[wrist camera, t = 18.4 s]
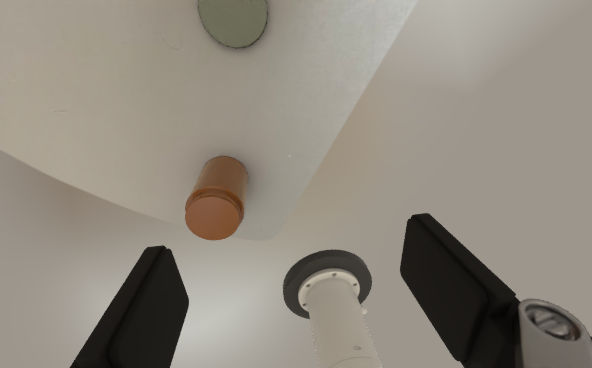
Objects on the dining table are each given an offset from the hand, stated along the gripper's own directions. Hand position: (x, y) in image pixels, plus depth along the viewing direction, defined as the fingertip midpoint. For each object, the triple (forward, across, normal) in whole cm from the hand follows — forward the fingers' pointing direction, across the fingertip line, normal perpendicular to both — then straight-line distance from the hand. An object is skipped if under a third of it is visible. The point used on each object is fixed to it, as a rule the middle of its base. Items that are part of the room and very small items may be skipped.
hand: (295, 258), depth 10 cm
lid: (+24, +3, -12) cm, 27 cm away
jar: (+26, +8, +7) cm, 28 cm away
